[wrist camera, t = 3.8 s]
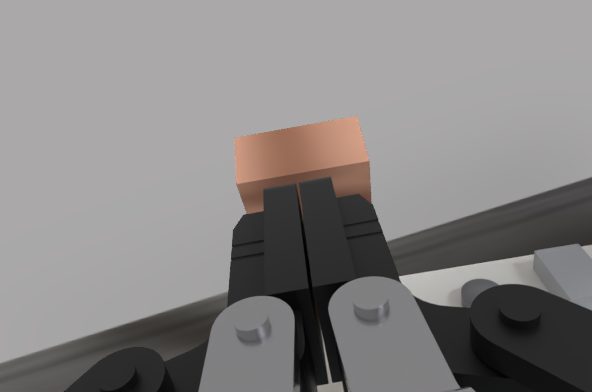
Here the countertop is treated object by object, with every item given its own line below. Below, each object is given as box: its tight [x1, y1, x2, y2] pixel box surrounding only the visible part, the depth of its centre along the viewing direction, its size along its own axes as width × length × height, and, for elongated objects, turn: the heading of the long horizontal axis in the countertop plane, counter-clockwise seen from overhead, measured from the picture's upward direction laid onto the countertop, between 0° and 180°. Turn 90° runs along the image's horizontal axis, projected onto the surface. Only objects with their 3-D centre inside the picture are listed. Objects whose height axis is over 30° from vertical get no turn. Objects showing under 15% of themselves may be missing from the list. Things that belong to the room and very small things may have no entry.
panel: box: [317, 244, 592, 392], centre depth 31 cm, size 24×16×4 cm, turn 93°
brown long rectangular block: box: [235, 116, 371, 220], centre depth 29 cm, size 6×3×17 cm, turn 93°
